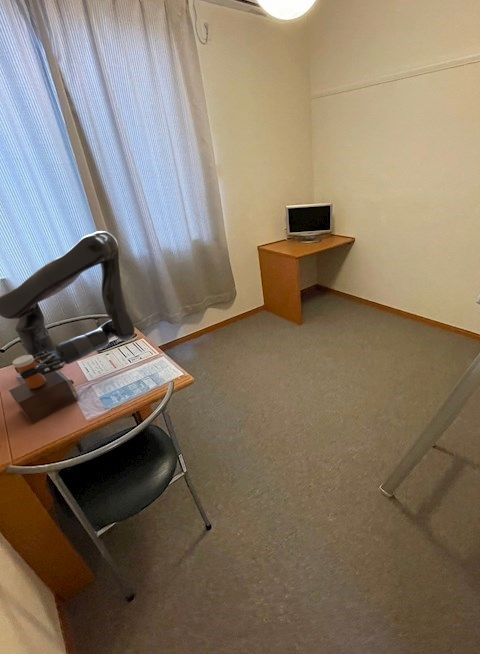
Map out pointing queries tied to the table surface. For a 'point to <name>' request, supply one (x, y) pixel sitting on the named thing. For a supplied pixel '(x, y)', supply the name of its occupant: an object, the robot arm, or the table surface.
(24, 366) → the pill bottle
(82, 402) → the table surface
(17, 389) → the dark brown box
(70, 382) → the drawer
